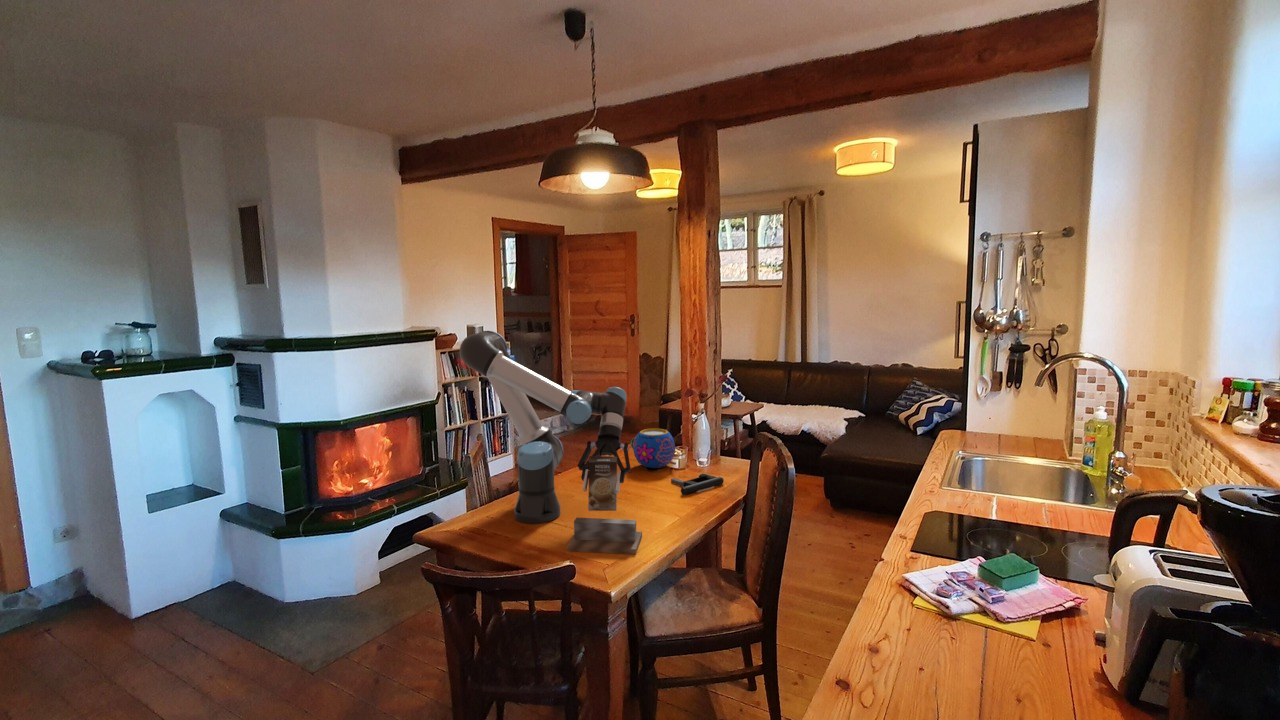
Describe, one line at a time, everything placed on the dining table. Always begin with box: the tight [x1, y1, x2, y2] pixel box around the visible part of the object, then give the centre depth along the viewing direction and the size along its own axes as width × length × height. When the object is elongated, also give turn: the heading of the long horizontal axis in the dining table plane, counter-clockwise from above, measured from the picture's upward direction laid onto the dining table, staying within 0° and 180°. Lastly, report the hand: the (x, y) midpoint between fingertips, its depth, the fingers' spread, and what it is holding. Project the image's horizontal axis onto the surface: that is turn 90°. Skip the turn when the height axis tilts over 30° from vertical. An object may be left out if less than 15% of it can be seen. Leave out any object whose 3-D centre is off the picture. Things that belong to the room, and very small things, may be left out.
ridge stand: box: [566, 517, 643, 555], centre depth 176 cm, size 20×12×7 cm, turn 81°
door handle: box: [670, 473, 725, 496], centre depth 225 cm, size 3×20×16 cm
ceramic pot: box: [630, 427, 676, 469], centre depth 248 cm, size 18×18×15 cm
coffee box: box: [587, 455, 618, 512], centre depth 190 cm, size 9×6×16 cm
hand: (600, 490), depth 187 cm, fingers closed on coffee box, 10 cm apart
